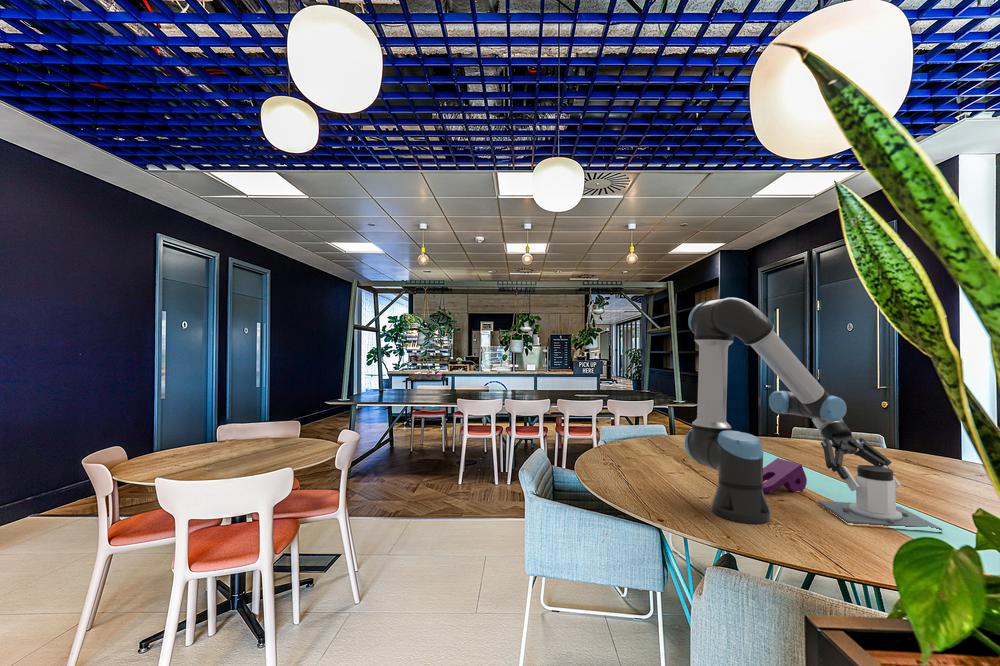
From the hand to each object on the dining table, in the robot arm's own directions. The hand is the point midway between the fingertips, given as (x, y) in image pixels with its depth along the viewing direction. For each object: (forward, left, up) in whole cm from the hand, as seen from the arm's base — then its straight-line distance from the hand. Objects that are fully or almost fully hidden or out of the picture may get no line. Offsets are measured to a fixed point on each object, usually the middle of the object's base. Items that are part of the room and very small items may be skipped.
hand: (876, 488), depth 133 cm
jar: (0, 0, -7) cm, 7 cm away
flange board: (0, 0, -9) cm, 9 cm away
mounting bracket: (-19, +24, -9) cm, 32 cm away
